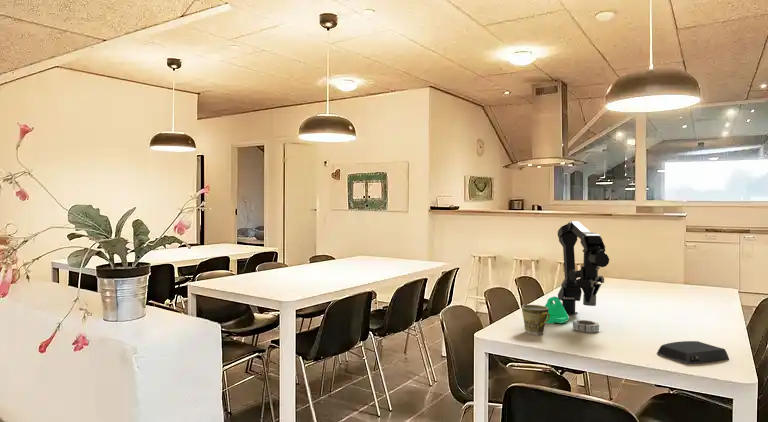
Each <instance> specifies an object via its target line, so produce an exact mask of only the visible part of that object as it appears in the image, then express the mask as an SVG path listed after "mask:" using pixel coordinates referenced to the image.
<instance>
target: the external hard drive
mask: <svg viewBox="0 0 768 422" xmlns="http://www.w3.org/2000/svg"><path fill="white" fill-rule="evenodd" d="M656 355H658V356H660V357H664V358H667V359H669V360H673V361H675V362H678V363H682V364H683V365H701V364H709V363H710V364H711V363H717V362H723V361H728V360H730V357H729V354H728V353H727V351H726V349H725V348H723V347H718V346H714V345H711V344H708V343H705V342H701V341H698V340H697V341H696V340H693V341H692V340H686V341H685V340H683V341H674V342H673V341H672V342H668V343H664V344H661V345H660V347H659V348H658V350H657V352H656Z"/></svg>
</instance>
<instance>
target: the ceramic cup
mask: <svg viewBox="0 0 768 422" xmlns="http://www.w3.org/2000/svg"><path fill="white" fill-rule="evenodd" d="M548 310H549V308H548V307H545V305H539V304H523V305H522V306H521V312H522V318H523V323H524V330H525V333H526V334H529V335H531V336H534V335H535V336H541V335H542V336H543V334H544V331H545V327H546V326H545V325H546V321H548V320H549V318H550V316H549V313H548ZM547 315H548V319H547V320H546V318H547Z"/></svg>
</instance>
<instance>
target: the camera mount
mask: <svg viewBox="0 0 768 422" xmlns="http://www.w3.org/2000/svg"><path fill="white" fill-rule="evenodd" d="M544 306H545V307H548V308H549V310H548V313H549V316H550V318H549V320H548V321H546V322H545V324H552V325H553V324H556V323H559V324H562V323H565V322H568V321H569V316H570V315H568V314H567V313H566V311H565V309H564V307H563V305H562V301H561V300H559V298H558V296H552V297H549V298H548V299H547V302H546V304H545V305H544ZM547 319H548V315H547V318H546V320H547Z"/></svg>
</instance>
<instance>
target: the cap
mask: <svg viewBox="0 0 768 422" xmlns="http://www.w3.org/2000/svg"><path fill="white" fill-rule="evenodd" d="M582 296H583V297H582V298H583V299H582V302H583V303H582V304H583V305H584V306H589V307H596V306H597V294H596V295H593V294H592V296H591V299H590V301H589V303H587V302H586V300H585V296H584V293H583V295H582Z"/></svg>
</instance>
